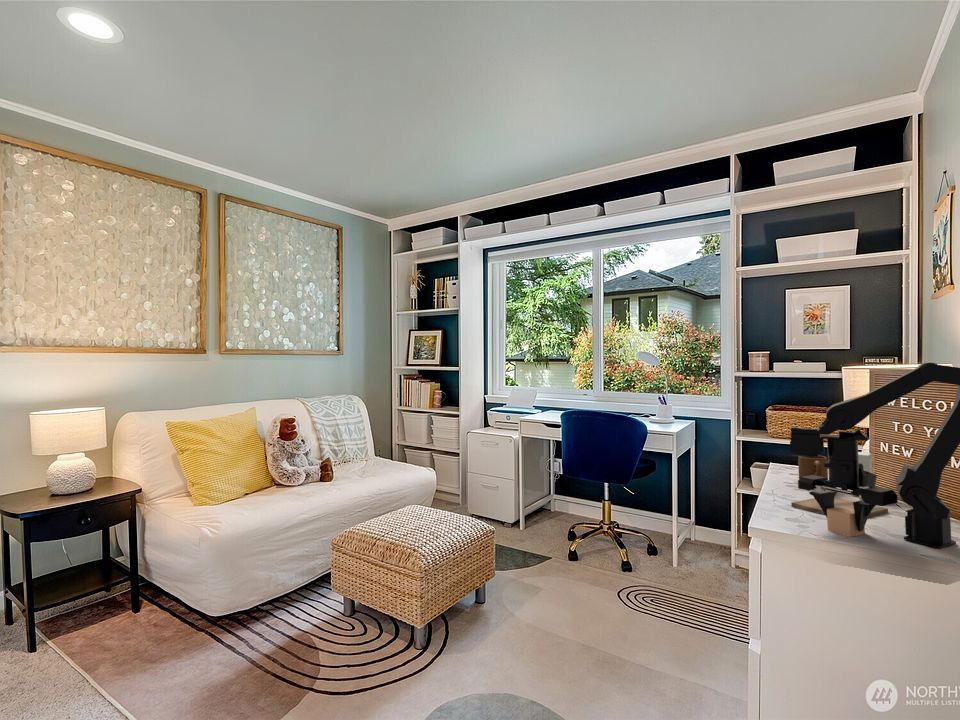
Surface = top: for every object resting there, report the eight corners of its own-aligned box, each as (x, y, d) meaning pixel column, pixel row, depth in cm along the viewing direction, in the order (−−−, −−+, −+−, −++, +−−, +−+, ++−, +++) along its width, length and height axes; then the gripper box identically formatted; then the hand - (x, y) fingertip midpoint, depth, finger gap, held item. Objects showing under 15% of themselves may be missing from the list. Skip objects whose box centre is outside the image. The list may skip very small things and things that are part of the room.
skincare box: (870, 498, 143) (869, 455, 143) (852, 496, 146) (850, 454, 146) (873, 493, 147) (871, 452, 148) (855, 491, 150) (853, 451, 150)
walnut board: (888, 512, 129) (887, 508, 129) (849, 521, 124) (849, 516, 124) (828, 499, 143) (828, 495, 143) (791, 506, 138) (791, 502, 138)
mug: (836, 494, 148) (835, 461, 149) (806, 492, 151) (805, 461, 151) (824, 484, 160) (823, 454, 160) (796, 483, 162) (795, 454, 162)
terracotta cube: (864, 533, 115) (863, 511, 115) (850, 537, 113) (849, 514, 113) (841, 527, 120) (841, 506, 120) (827, 530, 118) (826, 509, 118)
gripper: (911, 461, 111) (914, 533, 111) (825, 450, 128) (828, 512, 128) (879, 467, 107) (882, 541, 107) (795, 454, 124) (797, 518, 124)
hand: (845, 527), depth 116 cm, fingers open, 6 cm apart
